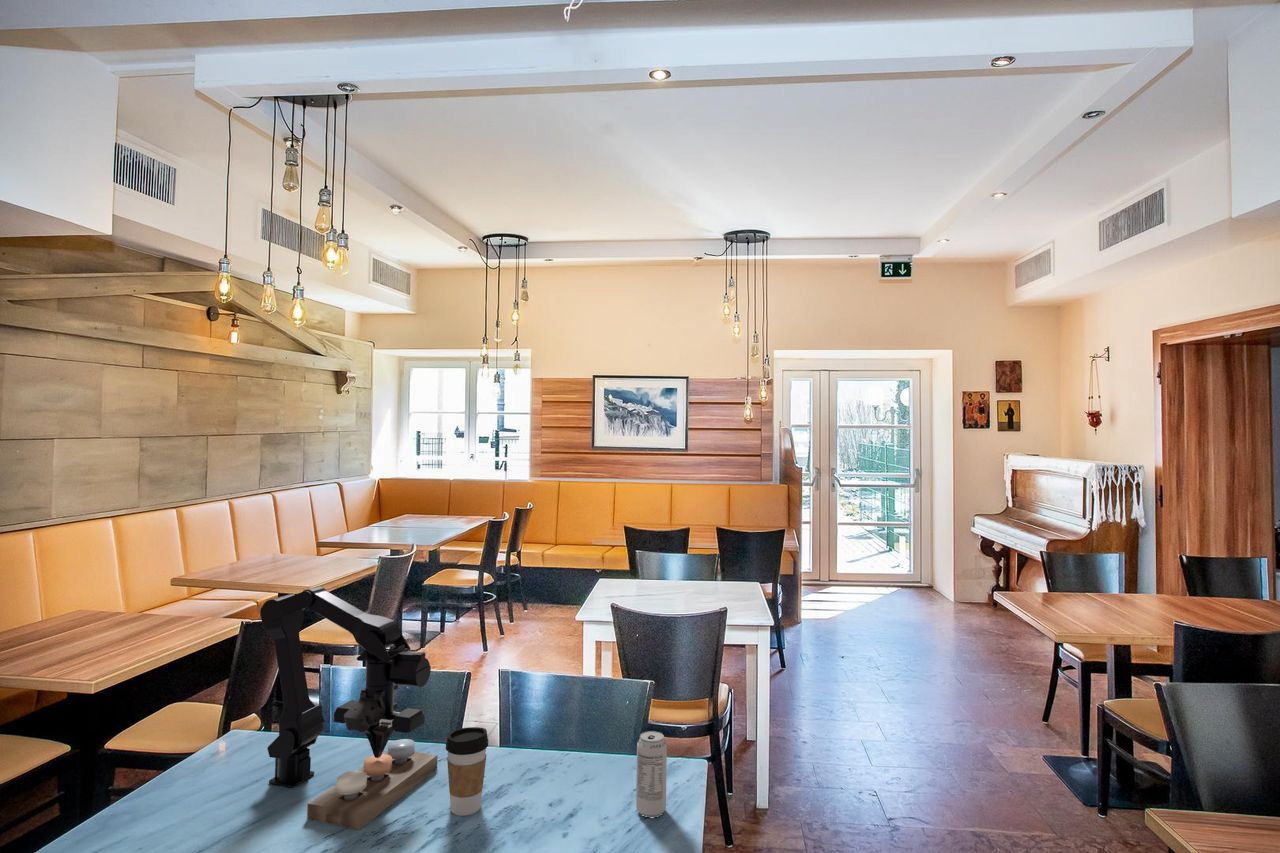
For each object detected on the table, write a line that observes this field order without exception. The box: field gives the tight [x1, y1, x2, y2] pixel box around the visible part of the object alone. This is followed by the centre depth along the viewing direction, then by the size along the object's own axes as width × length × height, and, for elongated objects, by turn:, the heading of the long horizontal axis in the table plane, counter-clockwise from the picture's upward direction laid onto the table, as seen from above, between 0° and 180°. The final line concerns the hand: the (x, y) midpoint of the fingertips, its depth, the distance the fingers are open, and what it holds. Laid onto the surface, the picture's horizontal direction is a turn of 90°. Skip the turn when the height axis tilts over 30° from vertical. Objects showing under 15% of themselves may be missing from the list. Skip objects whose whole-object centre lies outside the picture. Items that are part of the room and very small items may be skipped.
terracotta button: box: [362, 753, 392, 782], centre depth 142 cm, size 6×6×5 cm
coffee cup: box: [445, 726, 489, 817], centre depth 137 cm, size 8×8×15 cm
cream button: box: [335, 770, 367, 801], centre depth 135 cm, size 6×6×5 cm
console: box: [306, 750, 438, 830], centre depth 142 cm, size 12×26×3 cm, turn 164°
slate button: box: [387, 738, 416, 765], centre depth 150 cm, size 6×6×5 cm
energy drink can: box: [635, 730, 668, 817], centre depth 136 cm, size 6×6×15 cm
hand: (377, 757), depth 143 cm, fingers closed
